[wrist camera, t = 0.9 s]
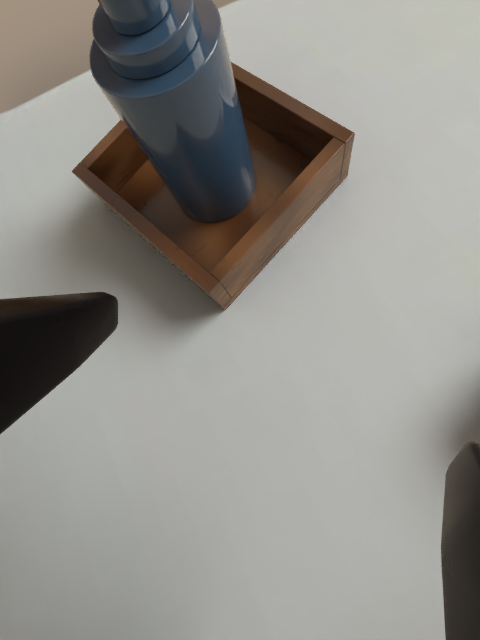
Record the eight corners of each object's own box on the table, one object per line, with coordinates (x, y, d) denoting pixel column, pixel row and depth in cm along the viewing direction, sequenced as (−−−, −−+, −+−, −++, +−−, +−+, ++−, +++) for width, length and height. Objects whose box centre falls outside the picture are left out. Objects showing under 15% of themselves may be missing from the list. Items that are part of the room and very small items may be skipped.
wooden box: (225, 310, 21) (209, 293, 17) (104, 203, 25) (71, 171, 21) (347, 175, 21) (355, 132, 18) (210, 90, 25) (195, 41, 22)
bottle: (216, 239, 21) (78, -2, 9) (159, 193, 23) (-28, -67, 10) (274, 175, 22) (225, -153, 9) (214, 135, 23) (99, -192, 10)
